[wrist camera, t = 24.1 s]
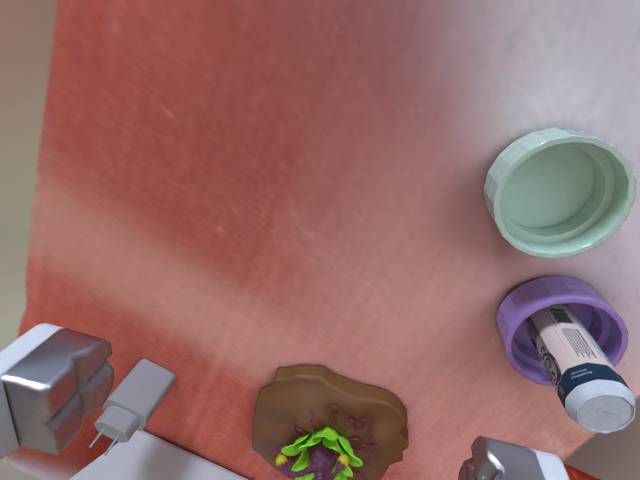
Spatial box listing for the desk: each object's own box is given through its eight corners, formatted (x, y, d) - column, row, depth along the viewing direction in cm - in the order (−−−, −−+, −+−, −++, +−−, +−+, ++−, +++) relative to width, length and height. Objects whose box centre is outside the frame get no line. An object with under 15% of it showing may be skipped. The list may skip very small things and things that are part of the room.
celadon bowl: (526, 107, 33) (544, 113, 29) (634, 157, 33) (668, 170, 29) (461, 210, 38) (469, 228, 34) (557, 253, 38) (577, 276, 34)
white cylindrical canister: (513, 320, 41) (555, 412, 30) (551, 291, 39) (612, 379, 28) (545, 346, 42) (599, 446, 31) (585, 319, 40) (657, 416, 29)
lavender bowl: (533, 257, 38) (550, 280, 34) (627, 299, 38) (655, 327, 34) (476, 331, 43) (484, 360, 39) (560, 369, 43) (577, 401, 39)
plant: (240, 443, 57) (207, 525, 47) (277, 346, 48) (246, 421, 38) (369, 494, 57) (364, 587, 47) (429, 405, 48) (439, 496, 38)
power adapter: (141, 356, 53) (77, 431, 42) (177, 375, 53) (122, 454, 43) (135, 371, 54) (72, 447, 44) (170, 389, 55) (116, 469, 44)
